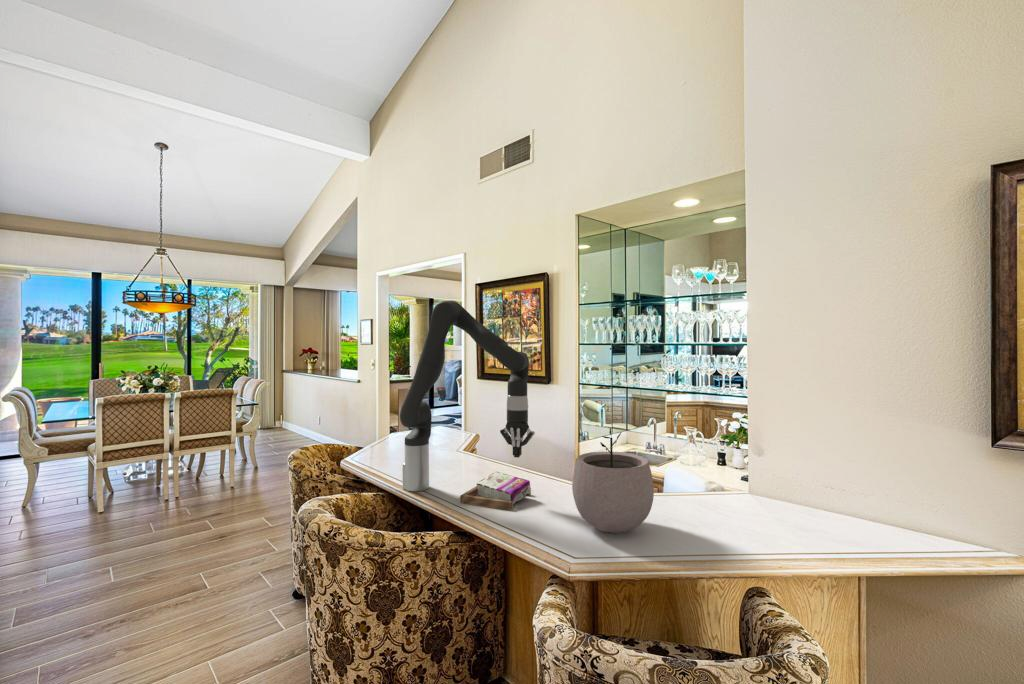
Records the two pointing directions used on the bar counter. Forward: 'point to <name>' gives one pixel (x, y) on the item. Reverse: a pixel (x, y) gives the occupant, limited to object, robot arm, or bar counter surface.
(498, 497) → the candy bar box
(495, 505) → the keeper frame
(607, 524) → the plant pot
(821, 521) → the bar counter surface
